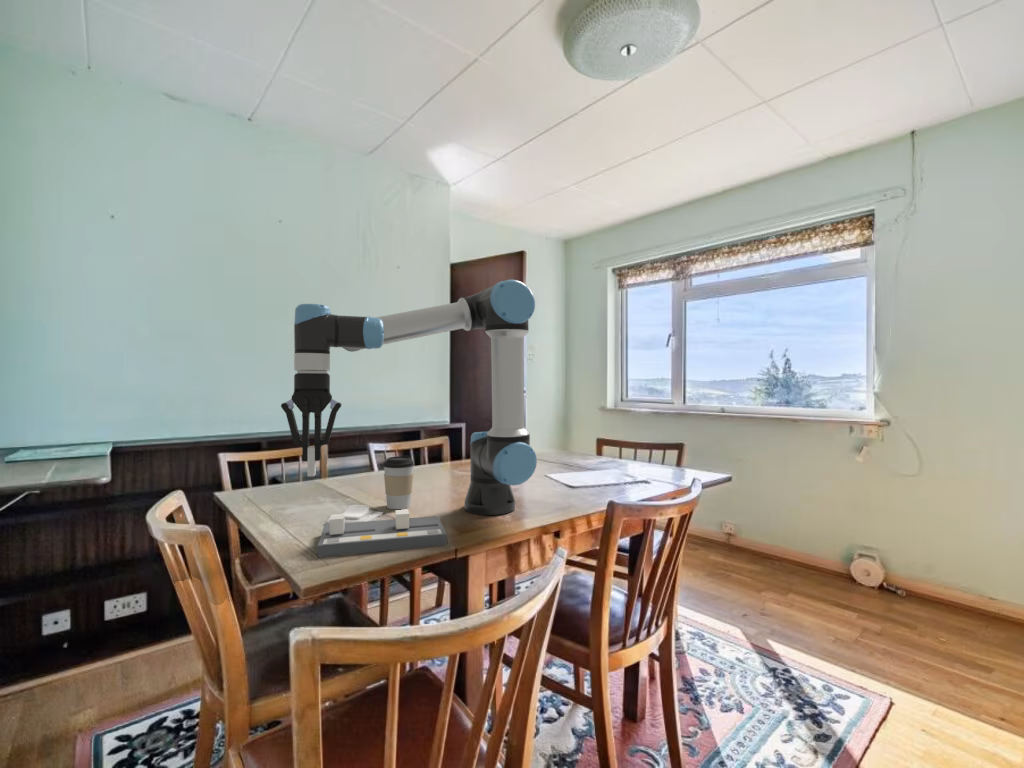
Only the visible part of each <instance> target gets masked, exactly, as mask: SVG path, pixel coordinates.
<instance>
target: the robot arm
mask: <svg viewBox="0 0 1024 768" xmlns="http://www.w3.org/2000/svg"><path fill="white" fill-rule="evenodd" d="M330 308H331V307H329V306H328V305H325V304H317V303H301V304H298V305H297V306H296V307H295V310H294V324H293V327H294V329H293V330H294V331H293V333H294V341H293V342H294V354H293V356H294V357H293V358H294V359H293V363H294V364H293V365H294V366H293V368H294V371H295V372H297V373H295V374H294V378H293V379H294V380H293V392H292V393H293V394H292V395H291V398H290V399H289V400H287V401H286V402H283V403H281V404H280V407H281V409H282V411H284V413H285V415H286V419H287V423H288V427H289V431H290V435H291V438H292V442H293V445H295V446H300V447H301V449H302V457H301V459H302V461H303V462H307V474H306V475H307V477H315V476H316V474H317V462H320V461H321V459H322V446H324V445H327V444H329V442H330V440H331V436H332V432H333V429H334V425H335V422H336V418H337V413H338V412H339V410H340V408H341V407H342V402H339V401H336V400H335V399H333V395H332V394H331V389H330V388H331V387H330V386H331V383H330V382H331V377H330V376H331V375H329V373H328V372H329V371H330V370H331V351H330V350H331V348H342V349H344V350H345V351H348V352H353V353H354V352H359V351H361V350H364V349H367V350H371V349H376V350H377V349H381V348H382V346H383V345H387V344H388V345H389V344H392V343H397V342H404V341H407V340H412V339H417V338H423V337H427V336H432V335H437V334H441V333H442V334H443V333H447V332H450V331H457V330H461V329H463V330H464V331H466V332H469V331H473V330H485V334H487V336H488V337H489V338H490V341H491V342H490V343H491V344H490V345H491V349H490V351H491V352H490V353H491V411H492V413H491V417H492V418H491V421H492V423H491V424H492V427H491V428H490V429H489V430H488V431H477V432H476V431H475V432H473V433H472V434H471V436H470V441H469V442H470V443H469V445H470V483H469V487H468V489H467V492H466V496H465V499H464V505H463V506H464V510H465V511H466V512H468V513H470V514H474V515H481V516H495V515H496V516H497V515H503V514H508V513H511V512H514V511H515V509H516V499H515V496H514V493H513V489H512V486H520V485H522V484H524V483H526V482H527V481H528V480H529V479H530V478H531V477H532V476H533V474H534V473H535V472H536V468H537V464H538V458H537V454H536V452H535V450H534V449H533V447H532V446H531V442H530V440H531V437H530V435H531V434H530V433H531V432H529V431H528V429H526V427H525V414H524V413H525V412H524V409H525V407H524V405H525V404H524V403H525V402H524V401H525V400H524V396H525V395H524V338H525V336H526V335H527V334H528V333H529V320H530V319H531V318H532V317H533V314H534V312H535V310H536V309H535V308H536V300H535V297H534V294H533V291H532V290H531V289H530V288H529V287H528V285H526V284H525V283H524V282H522V281H520V280H516V279H507V280H506V279H505V280H502V281H499V282H497V283H496V284H494V285H492V286H489V287H486V288H485V289H483V290H481V291H479V292H476V293H475V294H472V295H469V296H466V297H465V296H463V297H459V299H458V300H457V302H453V303H446V304H441V305H436V306H435V305H434V306H431V307H425V308H419V309H414V310H408V311H404V312H403V311H402V312H399V313H398V312H397V313H393V314H387V315H381V316H375V317H371V316H369V315H368V316H355V315H353V316H352V315H338V314H332V312H331V309H330ZM329 404H330V406H329V409H330V410H331V411H330V414H329V417H328V421H327V424H326V429H325V432H324V437H323V438H322V415H323V414H322V412H324V410H325V409H326V408H327V406H328V405H329ZM295 406H296V407H297V408H298V410H299V411H300V412H301V417H302V418H301V419H302V422H301V425H302V427H301V429H302V430H301V431H302V432H301V433H302V435H300V431H299V427H298V423H297V419H296V416H295V413H294V410H293V409H294V408H295ZM311 413H312V414H314V445H311V446H310V418H311V416H310V415H311ZM301 437H302V438H301Z"/></svg>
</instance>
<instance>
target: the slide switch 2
mask: <svg viewBox="0 0 1024 768" xmlns="http://www.w3.org/2000/svg"><path fill="white" fill-rule="evenodd" d="M394 513H395V516H394V517H395V525H396V529H406V528H409V518H410V512H409V508H407V509H401V510H394Z"/></svg>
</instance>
